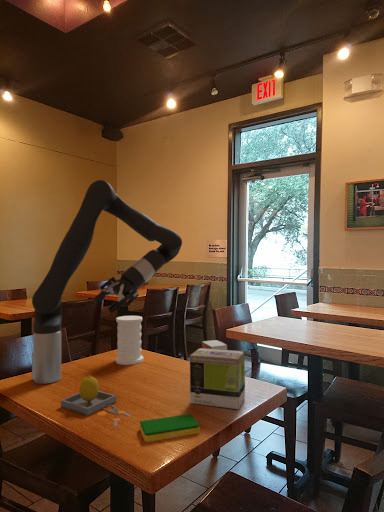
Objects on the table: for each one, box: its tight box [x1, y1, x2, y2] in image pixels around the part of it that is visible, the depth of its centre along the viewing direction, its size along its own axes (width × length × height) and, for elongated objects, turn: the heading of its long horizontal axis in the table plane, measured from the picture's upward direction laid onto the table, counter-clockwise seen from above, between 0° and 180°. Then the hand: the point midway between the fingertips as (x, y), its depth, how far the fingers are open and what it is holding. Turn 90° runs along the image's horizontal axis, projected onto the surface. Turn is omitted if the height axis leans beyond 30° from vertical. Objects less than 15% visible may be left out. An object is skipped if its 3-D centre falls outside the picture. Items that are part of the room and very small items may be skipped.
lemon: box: [79, 375, 100, 403], centre depth 108 cm, size 6×6×8 cm
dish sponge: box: [139, 413, 200, 443], centre depth 92 cm, size 7×14×2 cm, turn 109°
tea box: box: [189, 347, 246, 410], centre depth 111 cm, size 15×10×15 cm
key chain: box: [96, 404, 132, 427], centre depth 101 cm, size 13×7×1 cm, turn 41°
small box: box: [201, 339, 228, 350], centre depth 130 cm, size 8×6×13 cm
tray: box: [60, 390, 117, 417], centre depth 108 cm, size 11×11×2 cm
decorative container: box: [114, 315, 144, 366], centre depth 152 cm, size 12×12×18 cm
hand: (102, 306), depth 116 cm, fingers open, 8 cm apart
